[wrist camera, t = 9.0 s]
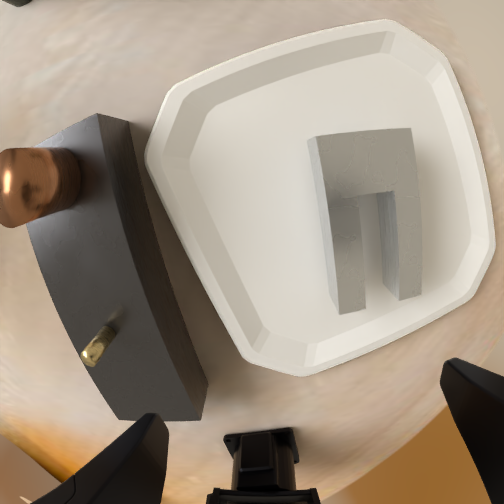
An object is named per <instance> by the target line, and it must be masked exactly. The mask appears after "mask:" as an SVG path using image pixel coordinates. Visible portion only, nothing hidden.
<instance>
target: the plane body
mask: <svg viewBox="0 0 504 504" xmlns="http://www.w3.org/2000/svg"><path fill="white" fill-rule="evenodd" d="M0 223H1V224H2V225H3V226H5V227H8V228H14V227H17V226H20V225H23V224H25V223H26V225H27V229H28V232H29V236H30V239H31V242H32V246H33V249H34V252H35V255H36V258H37V261H38V264H39V267H40V270H41V272H42V275H43V278H44V280H45V283H46V286H47V288H48V291H49V293H50V296H51V298H52V300H53V303H54V305H55V307H56V310H57V312H58V314H59V316H60V319H61V321H62V323H63V325H64V327H65V329H66V331H67V333H68V335H69V337H70V339H71V341H72V343H73V345H74V347H75V349H76V351H77V353H78V355H79V357H80V359H81V360H82V362H83V364H84V366H85V368H86V369H87V371H88V373H89V374H90V376H91V378H92V380H93V381H94V383H95V384H96V386H97V388H98V389H99V391H100V393H101V394H102V396H103V397H104V399H105V400H106V402H107V403H108V405H109V406H110V408H111V409H112V411H113V412H114V414H115V415H116V417H117V418H118V419H119V420H130V421H137V420H139V419H140V418H141V417H142V416H143V415H144V414H146V413H158V414H159V415H160V416H161V418H162V420H163V421H199V420H201V417H202V412H203V408H204V403H205V398H206V393H207V388H208V382H207V380H206V377H205V375H204V373H203V370H202V368H201V365H200V363H199V360H198V358H197V355H196V353H195V350H194V348H193V345H192V342H191V340H190V337H189V334H188V332H187V329H186V326H185V324H184V321H183V318H182V315H181V313H180V310H179V307H178V304H177V301H176V298H175V295H174V292H173V289H172V286H171V283H170V280H169V277H168V274H167V271H166V268H165V265H164V262H163V258H162V255H161V252H160V249H159V245H158V242H157V238H156V235H155V232H154V228H153V225H152V221H151V217H150V214H149V210H148V206H147V202H146V199H145V195H144V191H143V187H142V183H141V179H140V174H139V170H138V166H137V162H136V157H135V153H134V148H133V143H132V139H131V134H130V129H129V124H128V121H125V120H122V119H118V118H114V117H110V116H106V115H102V114H98V113H97V114H94V115H92V116H90V117H88V118H86V119H84V120H82V121H80V122H78V123H76V124H74V125H72V126H70V127H68V128H66V129H64V130H62V131H61V132H59V133H57V134H55V135H53V136H52V137H50V138H48V139H46V140H45V141H43V142H41V143H39V144H38V145H36V146H34V147H33V148H10V149H6V150H4V151H2V152H1V153H0Z"/></svg>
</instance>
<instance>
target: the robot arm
mask: <svg viewBox="0 0 504 504" xmlns="http://www.w3.org/2000/svg"><path fill="white" fill-rule="evenodd" d="M440 386H441V389H442V391H443V394H444V396H445V398H446V401H447V404H448V406H449V409H450V411H451V414H452V416H453V419H454V421H455V423H456V426H457V428H458V430H459V432H460V434H461V436H462V437H463V440H464V441H465V444H466V446H467V448H468V450H469V452H470V454H471V456H472V458H473V461H474V463H475V465H476V467H477V469H478V472H479V474H480V476H481V479H482V481H483V483H484V486H485V488H486V491H487V493H488V496H489V498H490V500H491V503H492V504H504V377H503V376H501V375H498V374H496V373H493V372H491V371H488V370H486V369H483V368H481V367H478V366H476V365H474V364H471V363H469V362H466V361H464V360H461V359H459V358H452V359H449V360H447V361H445V363H444V365H443V369H442V374H441V378H440ZM223 441H224V443H225V445H226V447H227V449H228V451H229V452H230V454H231V456H232V458H233V472H232V485H231V490H226V489H220V488H214V490H213V493H212V494H208V495H207V500H206V504H321V503H320V500H319V496H318V493H317V489H316V488H310V489H307V490H296V482H295V471H294V464H296V463H299V455H298V451H297V447H296V442H295V438H294V434H293V430H292V429H291V428H283V429H276V430H269V431H261V432H252V433H242V434H231V435H225V436H224V438H223ZM168 443H169V431H168V428H167V427H166V425H165V423H164V421H163V420H162V418H161V416H160V415H159V414H158V413H146V414H144V415H143V416H142V417H141V418H140V419H139V420H137V421H136V422H135V423H134V424H133V425H132V426H131V427H130V428H128V429H127V430H126V431H125V432H124V433H123V434H121V435H120V436H119V437H118V438H117V439H116V440H115V441H113V442H112V443H111V444H110V445H109V446H107V447H106V448H105V449H104V450H103V451H102V452H100V453H99V454H98V455H97V456H96V457H94V458H93V459H92V460H91V461H90V462H88V463H87V464H86V465H85V466H83V467H82V468H81V469H80V470H78V471H77V472H76V473H75V475H72V476H71V477H70V478H68V479H67V480H66V481H65V482H63V483H62V484H60V485H59V486H58V487H57V488H55V489H53V490H52V491H51V492H49V493H47V494H46V495H44V496H42V497H41V498H39V499H37V500H36V501H34V502H32V503H30V504H160V503H161V498H162V493H163V487H164V482H165V477H166V469H167V455H168Z"/></svg>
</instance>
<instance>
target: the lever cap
mask: <svg viewBox="0 0 504 504" xmlns="http://www.w3.org/2000/svg"><path fill="white" fill-rule="evenodd" d="M307 145H308V150H309V155H310V161H311V166H312V172H313V177H314V183H315V189H316V196H317V202H318V208H319V215H320V222H321V229H322V236H323V244H324V252H325V260H326V268H327V277H328V286H329V295H330V297H331V299H332V301H333V303H334V305H335V307H336V309H337V311H338V313H339V315H343V314H347V313H352V312H356V311H360V310H365V309H366V294H365V274H364V258H363V245H362V234H361V224H360V215H359V206H358V198H357V196H360V195H367V194H373V193H376V195H377V204H378V214H379V225H380V238H381V254H382V279H383V284H384V285H385V287H386V288H387V289H388V290H389V291H390V292H391V293H392V294H393V295H394V296H395V297H396V298H397V300H398V301H401V300H405V299H409V298H412V297H416V296H420V295H421V293H422V219H421V203H420V191H419V180H418V171H417V163H416V156H415V149H414V143H413V137H412V131H411V128H394V129H379V130H367V131H356V132H346V133H337V134H328V135H320V136H315V137H313V138H310V139H308V140H307Z"/></svg>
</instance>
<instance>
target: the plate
mask: <svg viewBox="0 0 504 504" xmlns="http://www.w3.org/2000/svg"><path fill="white" fill-rule="evenodd" d="M394 128H411V131H412V137H413V143H414V149H415V156H416V163H417V171H418V180H419V191H420V203H421V219H422V293H421V295H420V296H416V297H412V298H409V299H405V300H401V301H398V300H397V298H396V297H395V296H394V295H393V294H392V293H391V292H390V291H389V290H388V289H387V288H386V287H385V285H384V284H383V279H382V254H381V238H380V225H379V214H378V204H377V195H376V193H373V194H367V195H360V196H357V198H358V206H359V215H360V224H361V234H362V245H363V258H364V274H365V294H366V309H365V310H360V311H356V312H352V313H347V314H343V315H339V313H338V311H337V309H336V307H335V305H334V303H333V301H332V299H331V297H330V295H329V286H328V277H327V268H326V260H325V252H324V244H323V236H322V229H321V222H320V215H319V208H318V202H317V196H316V189H315V183H314V177H313V172H312V166H311V161H310V155H309V150H308V145H307V140H308V139H310V138H313V137H315V136H320V135H328V134H337V133H346V132H356V131H367V130H379V129H394ZM144 163H145V166H146V169H147V171H148V173H149V175H150V178H151V180H152V182H153V184H154V187H155V189H156V191H157V193H158V195H159V197H160V200H161V202H162V204H163V206H164V208H165V210H166V212H167V214H168V217H169V219H170V221H171V223H172V225H173V227H174V229H175V231H176V233H177V235H178V237H179V239H180V241H181V243H182V245H183V247H184V249H185V251H186V253H187V255H188V257H189V259H190V261H191V263H192V265H193V267H194V269H195V271H196V273H197V275H198V277H199V279H200V281H201V283H202V285H203V287H204V288H205V290H206V292H207V294H208V296H209V298H210V300H211V302H212V303H213V305H214V307H215V309H216V311H217V313H218V315H219V316H220V318H221V320H222V322H223V324H224V325H225V327H226V329H227V331H228V333H229V334H230V336H231V338H232V340H233V342H234V343H235V345H236V347H237V349H238V350H239V352H240V354H241V355H242V357H243V358H244V359H245V360H246V361H248V362H249V363H251V364H254V365H258V366H261V367H264V368H268V369H271V370H275V371H278V372H282V373H285V374H289V375H293V376H297V377H305V376H310V375H313V374H315V373H318V372H321V371H324V370H326V369H329V368H332V367H334V366H337V365H339V364H342V363H344V362H347V361H349V360H352V359H354V358H357V357H359V356H361V355H364V354H366V353H368V352H371V351H373V350H375V349H377V348H380V347H382V346H384V345H386V344H388V343H391V342H393V341H395V340H397V339H399V338H401V337H403V336H405V335H407V334H409V333H411V332H413V331H415V330H417V329H419V328H421V327H423V326H425V325H427V324H429V323H430V322H432V321H434V320H436V319H438V318H440V317H441V316H443V315H445V314H447V313H449V312H450V311H452V310H454V309H455V308H457V307H459V306H461V305H462V304H464V303H466V302H467V301H469V300H470V299H471V298H472V297H473V296H474V294H475V293H476V291H477V289H478V287H479V285H480V283H481V281H482V279H483V277H484V275H485V272H486V270H487V268H488V266H489V264H490V262H491V259H492V257H493V255H494V252H495V247H496V241H495V230H494V221H493V213H492V206H491V199H490V193H489V188H488V182H487V177H486V172H485V168H484V163H483V159H482V155H481V151H480V147H479V143H478V140H477V136H476V133H475V129H474V126H473V123H472V120H471V117H470V114H469V111H468V108H467V105H466V102H465V99H464V97H463V94H462V92H461V89H460V86H459V84H458V81H457V79H456V77H455V74H454V72H453V70H452V67H451V65H450V63H449V61H448V59H447V58H446V56H445V55H444V54H443V53H442V51H440V50H439V49H438V48H436V47H435V46H433V45H432V44H431V43H429V42H428V41H426V40H425V39H423V38H422V37H420V36H419V35H417V34H416V33H414V32H413V31H411V30H409V29H408V28H406V27H405V26H403V25H401V24H400V23H398V22H396V21H393V20H389V19H381V20H374V21H367V22H361V23H355V24H349V25H344V26H339V27H334V28H330V29H325V30H321V31H317V32H313V33H309V34H305V35H301V36H298V37H294V38H291V39H287V40H284V41H281V42H277V43H274V44H271V45H268V46H265V47H262V48H259V49H256V50H254V51H251V52H248V53H245V54H243V55H240V56H237V57H235V58H232V59H230V60H227V61H225V62H222V63H220V64H218V65H215V66H213V67H211V68H208V69H206V70H204V71H202V72H200V73H197V74H195V75H193V76H191V77H189V78H187V79H185V80H183V81H181V82H179V83H177V84H175V85H174V86H173V87H172V88H171V89H170V90H169V91H168V92H167V94H166V96H165V99H164V101H163V104H162V106H161V109H160V111H159V114H158V116H157V119H156V121H155V124H154V127H153V129H152V132H151V135H150V137H149V140H148V143H147V146H146V149H145V152H144Z"/></svg>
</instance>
